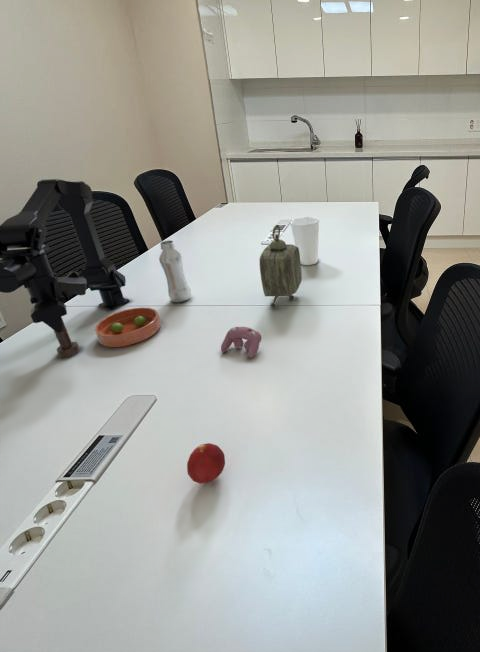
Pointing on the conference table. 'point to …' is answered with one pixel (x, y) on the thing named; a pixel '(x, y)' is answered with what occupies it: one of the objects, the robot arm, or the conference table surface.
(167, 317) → the conference table surface
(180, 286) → the plastic bottle
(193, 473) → the onion
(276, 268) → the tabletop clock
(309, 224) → the cup
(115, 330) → the olive
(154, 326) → the bowl
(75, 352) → the brown bolt
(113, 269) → the robot arm
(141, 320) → the olive
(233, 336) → the video game controller
